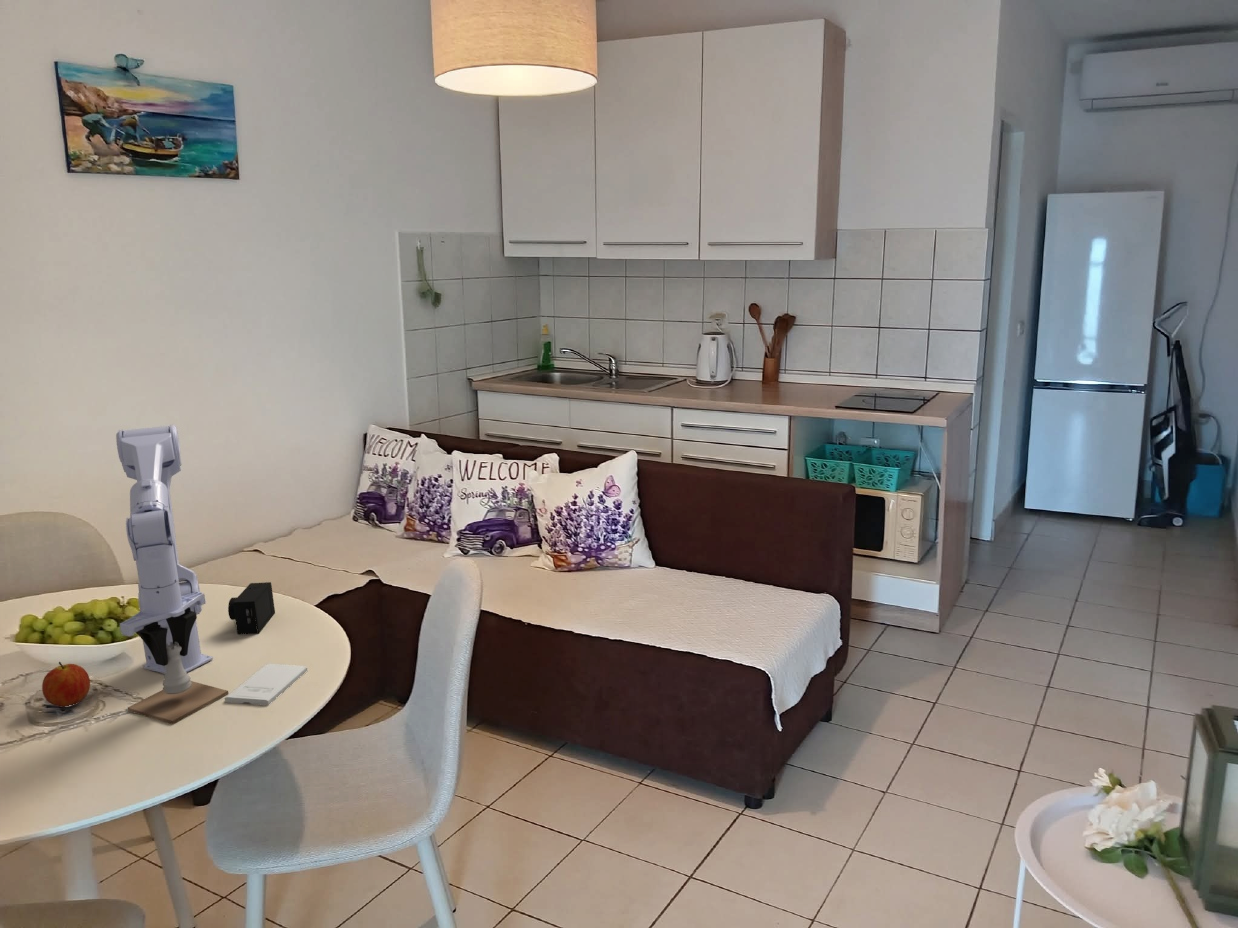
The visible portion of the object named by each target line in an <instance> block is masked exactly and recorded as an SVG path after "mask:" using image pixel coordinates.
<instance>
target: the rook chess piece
mask: <svg viewBox="0 0 1238 928" xmlns="http://www.w3.org/2000/svg"><path fill="white" fill-rule="evenodd" d="M174 643H175V644H173V642H170V645H168V644H167V643H166V649H167V655H168V664H167V665H166V674H164V679H163V681H162V684H161V685H162V686H163V688H162V690H163V691H164V692H165V693H167V694H178V693H182V692H184V691H186V690H188V689H189V688H190V686H191V684H192V682H191V681H192V680H191V677H190V675H189V674H188V672H186V671H185V670H184V668H183V665H182V662H181V658H182V656H181V655H180V651H181V649H182V647H181V646H179V643H178V642H174Z"/></svg>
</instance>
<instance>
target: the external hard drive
mask: <svg viewBox="0 0 1238 928" xmlns="http://www.w3.org/2000/svg"><path fill="white" fill-rule="evenodd" d="M306 671H307V672H308V667H307V666H305V665H296V664H295V665H293V664H282V663H281V664H280V663H279V664H278V663H265V664H264V665H263V666H261V667H260V669H257V671H256V672H255V673H253V674H252V675H251V676H250V677H248V678H247V679H246V680H245V681H244V682H242V683H241V684H239V685H238V686H237V687H236V688H235V689H233V691H231V692H230V693H228V695H226V696H224V702H225V703H233V704H235V703H236V704H250V705H258V704H259V706H261V705H262V706H270V705H271V704H272V703H273V702H275V700H276V697H278V696H279V695H280V694H281V693H282V694H284V692H283V691H285V690H286V689H287V688H288V687H289V688H291V686H293V685H294V684H293V683H294V682H295V681H296V680H297V679H298V678H299V679H301V677H300V676H302V675H303V674H304V673H305V672H306ZM307 672H306V673H307ZM306 673H305V674H306ZM305 674H304V675H305ZM304 675H303V676H304ZM303 676H302V677H303ZM299 679H298V680H299ZM298 680H297V681H298ZM297 681H296V682H297ZM296 682H295V683H296ZM292 684H293V685H292ZM290 685H291V686H290ZM289 688H288V689H289ZM288 689H287V690H288ZM287 690H286V691H287ZM286 691H285V692H286ZM282 694H281V695H282ZM281 695H280V696H281ZM280 696H279V697H280ZM279 697H278V698H279ZM271 702H272V703H271ZM270 703H271V704H270ZM260 704H261V705H260ZM269 704H270V705H269Z"/></svg>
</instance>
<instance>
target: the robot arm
mask: <svg viewBox="0 0 1238 928" xmlns="http://www.w3.org/2000/svg"><path fill="white" fill-rule="evenodd" d="M115 436H116V437H115V440H116V448H117V455H118V459H119V462H120V463H121V466H122V470H123V472H124V473H125V475H126V477H127V478H129V479H131V480H132V479H133V480H135V481H136V482H135V483H133V485H132V486H131V487H130V491H129V510H130V511H129V513H130V515H129V517H126V520H125V531H126V535H127V536H126V537H127V541H128V544H129V547H130V549H131V552H132V553H131V554H132V558H133V561H135V565H136V566H135V567H136V573H137V577H138V584H137V586H138V594H137V595H138V596H137V597H138V599H137V600H138V608H139V612H138V613H136V614H135V615H132V617H130V618H127V619H126V620H125V621H122V622H119V627H120V633H121V635H122V636H125V637H129V638H130V637H132V636H134V635H135V634H137V635H138V637H139V638H141V640H142V643H143V644H142V645H143V650H144V655H145V661H146V663H144V664H142V669H146V670H149V671H152V672H156V673H161V674H164V675H166V665H167V664H168V655H167V649H166V643H167V644H168V645H170V642H173V644H175V643H174V642H178V643H179V646H181V647H182V649H181V651H180V655H181V656H182V658H181V662H182V665H183V668H184V670H185V671H186V672H187V673H188V672H190V671H193V670H194V669H196V668H199V667H201V666H202V665H204V664H206V663H208V662H210V661H212V660H213V659H214V657H213V656H211V655H208V654H204V653H202V650H201V643H200V638H199V637H200V636H199V631H198V626H197V619H198V616H197V615H200V614H201V612H202V611H203V607H202V606H205V605H206V603H207V602H206V597H205V595H206V594H205V592H201V590H200V585H199V582H198V581H199V580H198V575H197V573H195V571H194V570H192V569H190V568H188V567H186V566H184V565H181V564H180V563H179V553H178V546H177V538H176V530H175V523H174V513H173V508H172V506H173V505H172V498H171V497H172V496H171V491H170V490H171V483H172V478H173V476H175V475H176V474H178V473H179V472H181V470H182V469H181V467H182V458H181V446H180V439H179V433H178V428H177V427H176V426H175V425H174V424H169V425H163V426H162V425H160V426H154V427H153V426H152V427H145V428H133V429H125V430H123V429H118V431H117V433H116V434H115Z"/></svg>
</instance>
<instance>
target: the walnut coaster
mask: <svg viewBox="0 0 1238 928" xmlns="http://www.w3.org/2000/svg"><path fill="white" fill-rule="evenodd" d="M190 681H191V682H192V684H191V686H190V688H189V689H188V690H186V691H184V692H182V693H178V694H167V693H165V692H164V691H163V689H162V690H159V691H158V692H156V693H154V694H151V695H150V696H148V697H146V698H143V699H142V700H140V701H137V702H136V703H134V704H132V705H130V706H127V711H128V712H131V713H134V714H138V715H141V716H143V717H144V716H145V717H148V718H151V719H153V720H156V721H157V720H158V721H160V722H164V723H167V724H171V725H175V724H176V723H179V722H180V721H182V720H184V719H185V718H187V717H189V716H191V715H193V714H195V713H196V712H198V711H200V710H203V709H204V708H206V707H207V706H210V705H211V704H212V703H214V702H216V701H219V700H221V699H222V698H225V697H226V696H228V695H229V691H228V690H227V689H224V688H220V687H215V686H212V685H208V684H205V683H200V682H196V681H193V680H190Z"/></svg>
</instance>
